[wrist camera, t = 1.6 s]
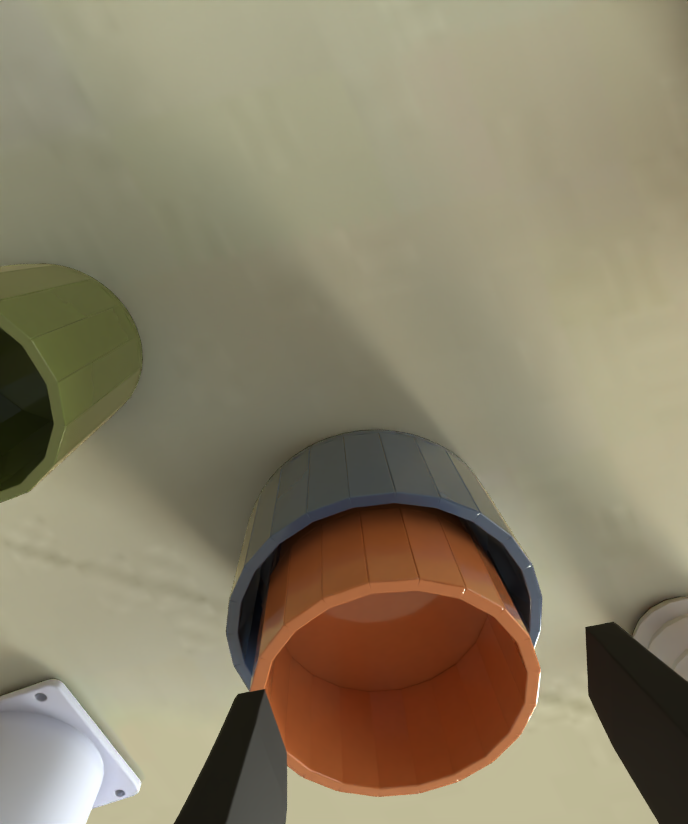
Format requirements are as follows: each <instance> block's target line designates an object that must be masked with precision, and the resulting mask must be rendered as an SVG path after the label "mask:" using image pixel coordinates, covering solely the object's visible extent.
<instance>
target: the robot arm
mask: <svg viewBox="0 0 688 824" xmlns="http://www.w3.org/2000/svg"><path fill="white" fill-rule="evenodd" d="M586 649H587V671H588V693H589V697H590V699H591V702H592V704H593V706H594V708H595V710H596V712H597V714H598V717H599V719H600V721H601V723H602V725H603V727H604V729H605V731H606V733H607V735H608V737H609V739H610V741H611V744H612V746H613V747H614V749H615V751H616V752H617V754H618V756H619V758H620V759H621V761H622V763H623V764H624V766H625V768H626V769H627V771H628V773H629V774H630V776H631V778H632V779H633V781H634V783H635V784H636V786H637V788H638V789H639V791H640V793H641V794H642V796H643V798H644V799H645V801H646V803H647V804H648V806H649V808H650V809H651V811H652V813H653V814H654V816H655V817H656V819H657V821H658V822H659V824H688V681H687V680H685V679H684V678H683V677H681V676H680V675H679V674H678V673H676V672H675V671H674V670H673V669H671V668H670V667H669V666H668V665H666V664H665V663H664V662H663V661H661V660H660V659H659V658H658V657H656V656H655V655H654V654H653V653H651V652H650V651H649V650H648V649H646V648H645V647H644V646H643V645H642V644H640V643H639V642H638V641H637V640H636V639H634V638H633V637H632V636H631V635H629V634H628V633H627V632H626V631H625V630H623V629H622V628H621V627H620V626H619V625H617V624H616V623H614V622H610V623H605V624H600V625H595V626H590V627H586ZM140 787H141V781H140V779H139V778H138V777H137V776H136V774H135V773H134V772H133V771H132V769H131V768H130V767H129V765H128V764H127V763H126V762H125V760H124V759H123V758H122V757H121V755H120V754H119V753H118V752H117V750H116V749H115V748H114V747H113V745H112V744H111V743H110V741H109V740H108V739H107V738H106V736H105V735H104V734H103V733H102V731H101V730H100V729H99V728H98V726H97V725H96V724H95V722H94V721H93V720H92V719H91V717H90V716H89V715H88V714H87V712H86V711H85V710H84V709H83V707H82V706H81V705H80V704H79V702H78V701H77V700H76V698H75V697H74V696H73V695H72V693H71V692H70V691H69V690H68V688H67V687H66V686H65V685H64V683H63V682H61V681H60V680H57V679H49V680H46V681H43V682H40V683H37V684H34V685H31V686H28V687H25V688H23V689H20V690H17V691H14V692H11V693H8V694H5V695H2V696H0V824H86V822H87V819H88V817H89V814H90V812H91V809H93V808H96V807H100V806H103V805H106V804H109V803H112V802H115V801H118V800H122V799H125V798H128V797H131V796H134V795H136V794H137V793H138V792H139V790H140ZM286 811H287V751H286V748H285V745H284V743H283V740H282V737H281V734H280V731H279V728H278V725H277V723H276V720H275V717H274V714H273V711H272V708H271V706H270V703H269V700H268V697H267V694H266V691H265V689H262V690H257V691H251V692H246V693H241V694H238V695H237V696H236V698H235V699H234V701H233V704H232V706H231V708H230V711H229V713H228V715H227V717H226V720H225V722H224V724H223V726H222V728H221V731H220V733H219V735H218V737H217V739H216V741H215V744H214V746H213V748H212V750H211V752H210V754H209V756H208V758H207V760H206V762H205V764H204V766H203V768H202V770H201V772H200V774H199V776H198V778H197V780H196V782H195V784H194V786H193V788H192V790H191V792H190V794H189V796H188V798H187V800H186V802H185V804H184V806H183V808H182V810H181V812H180V813H179V815H178V817H177V819H176V821H175V822H174V824H285V823H286Z"/></svg>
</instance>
